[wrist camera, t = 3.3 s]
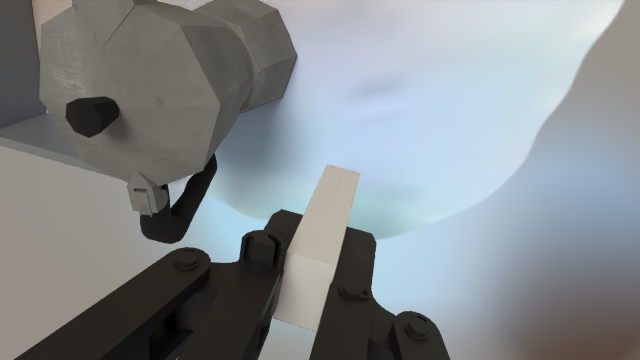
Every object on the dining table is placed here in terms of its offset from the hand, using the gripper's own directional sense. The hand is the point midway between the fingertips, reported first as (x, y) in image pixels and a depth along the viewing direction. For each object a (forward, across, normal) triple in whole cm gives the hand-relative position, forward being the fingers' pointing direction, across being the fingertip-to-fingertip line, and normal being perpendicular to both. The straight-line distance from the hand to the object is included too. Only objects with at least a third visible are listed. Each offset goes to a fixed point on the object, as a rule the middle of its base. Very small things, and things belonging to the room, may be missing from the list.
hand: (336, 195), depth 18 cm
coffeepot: (+16, -11, 0) cm, 19 cm away
